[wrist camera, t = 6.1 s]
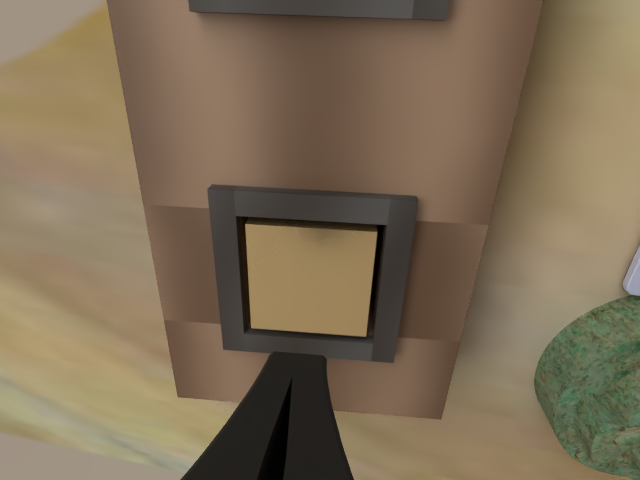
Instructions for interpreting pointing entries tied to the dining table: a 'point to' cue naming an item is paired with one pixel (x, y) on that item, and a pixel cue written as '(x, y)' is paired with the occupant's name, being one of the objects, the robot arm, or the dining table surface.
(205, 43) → the walnut board
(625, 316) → the decorative artifact
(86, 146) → the dining table surface
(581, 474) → the dining table surface
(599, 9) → the dining table surface
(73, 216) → the dining table surface
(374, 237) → the brass peg
